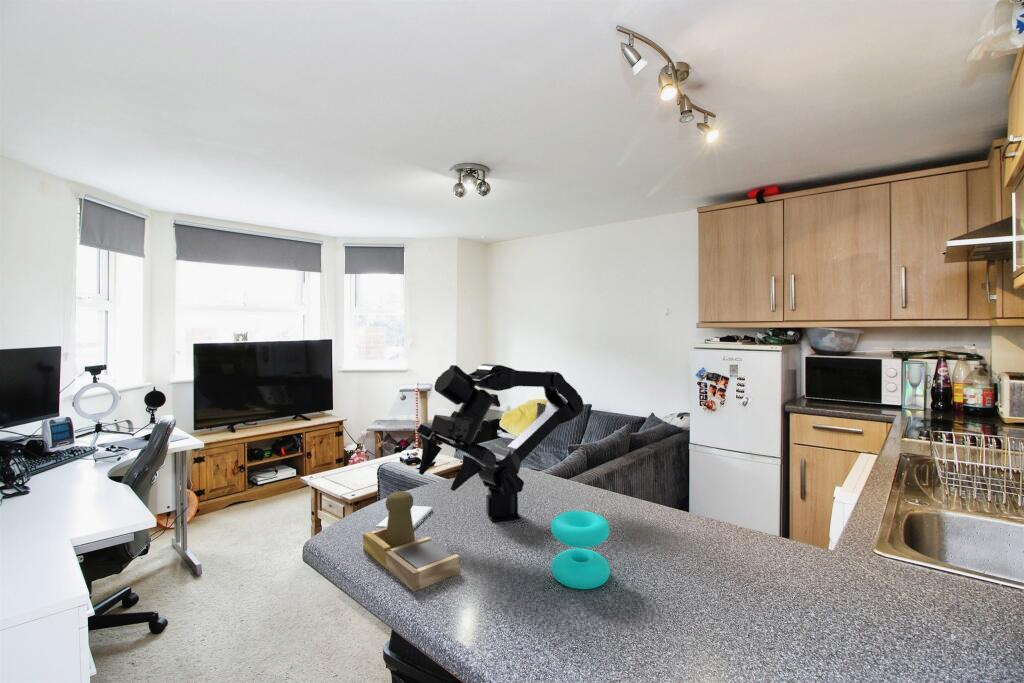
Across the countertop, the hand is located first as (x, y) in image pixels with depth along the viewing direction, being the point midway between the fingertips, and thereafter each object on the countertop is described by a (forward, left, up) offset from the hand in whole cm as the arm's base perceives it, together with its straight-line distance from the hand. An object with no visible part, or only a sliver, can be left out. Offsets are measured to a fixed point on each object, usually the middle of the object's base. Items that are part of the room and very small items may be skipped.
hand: (435, 481), depth 97 cm
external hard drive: (+6, -11, -12) cm, 17 cm away
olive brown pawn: (+8, +4, -11) cm, 14 cm away
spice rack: (+6, +9, -11) cm, 15 cm away
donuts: (-22, +23, -12) cm, 34 cm away
